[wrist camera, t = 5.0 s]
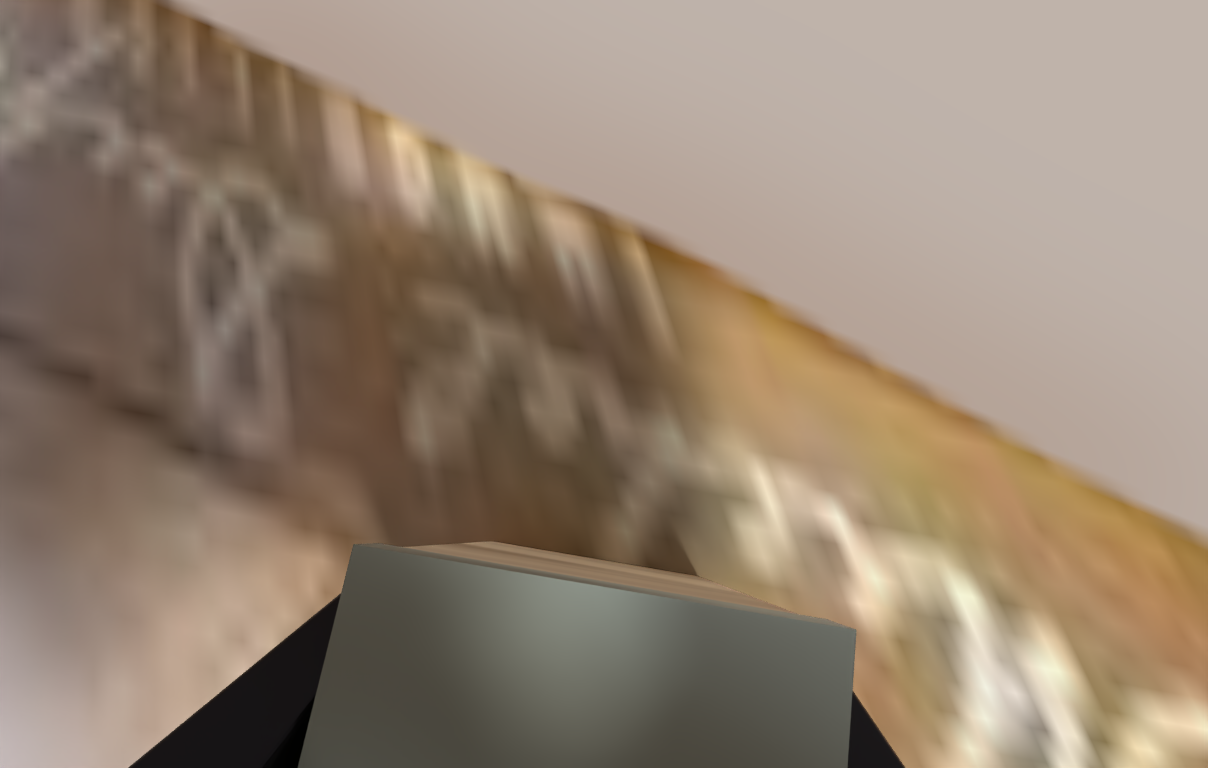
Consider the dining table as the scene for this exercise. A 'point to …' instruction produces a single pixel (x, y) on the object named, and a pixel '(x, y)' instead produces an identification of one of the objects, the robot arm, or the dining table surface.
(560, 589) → the beech block
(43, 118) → the dining table surface
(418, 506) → the dining table surface
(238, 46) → the dining table surface
